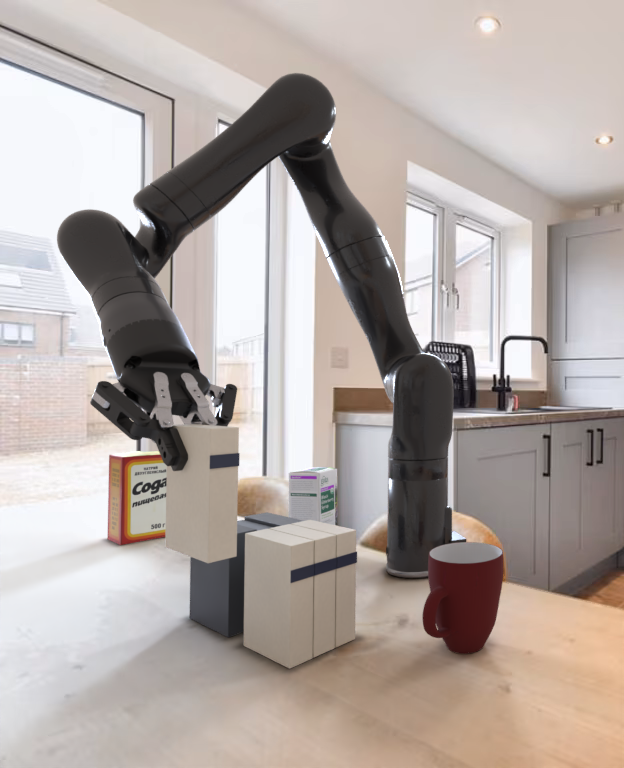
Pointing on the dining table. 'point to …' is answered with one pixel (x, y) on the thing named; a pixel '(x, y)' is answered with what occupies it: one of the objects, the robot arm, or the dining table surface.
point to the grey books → (226, 581)
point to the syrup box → (314, 495)
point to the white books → (299, 590)
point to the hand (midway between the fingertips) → (199, 462)
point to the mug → (463, 594)
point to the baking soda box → (136, 497)
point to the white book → (204, 494)
